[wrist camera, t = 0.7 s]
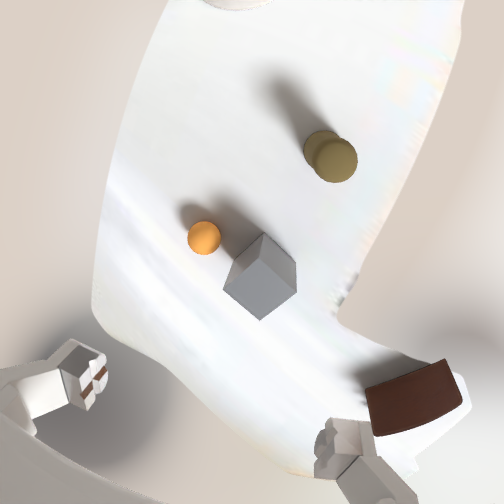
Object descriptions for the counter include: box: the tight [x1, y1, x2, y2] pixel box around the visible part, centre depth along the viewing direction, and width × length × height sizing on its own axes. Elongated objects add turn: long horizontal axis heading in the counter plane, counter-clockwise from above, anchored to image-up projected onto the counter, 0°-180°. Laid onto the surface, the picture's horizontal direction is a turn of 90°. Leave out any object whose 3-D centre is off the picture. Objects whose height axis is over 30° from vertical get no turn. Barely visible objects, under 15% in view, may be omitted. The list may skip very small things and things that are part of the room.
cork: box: [304, 130, 358, 183], centre depth 35 cm, size 6×6×11 cm
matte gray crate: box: [223, 232, 297, 320], centre depth 44 cm, size 7×7×9 cm
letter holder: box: [365, 359, 463, 437], centre depth 51 cm, size 10×20×14 cm, turn 117°
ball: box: [187, 221, 221, 255], centre depth 45 cm, size 5×5×5 cm
